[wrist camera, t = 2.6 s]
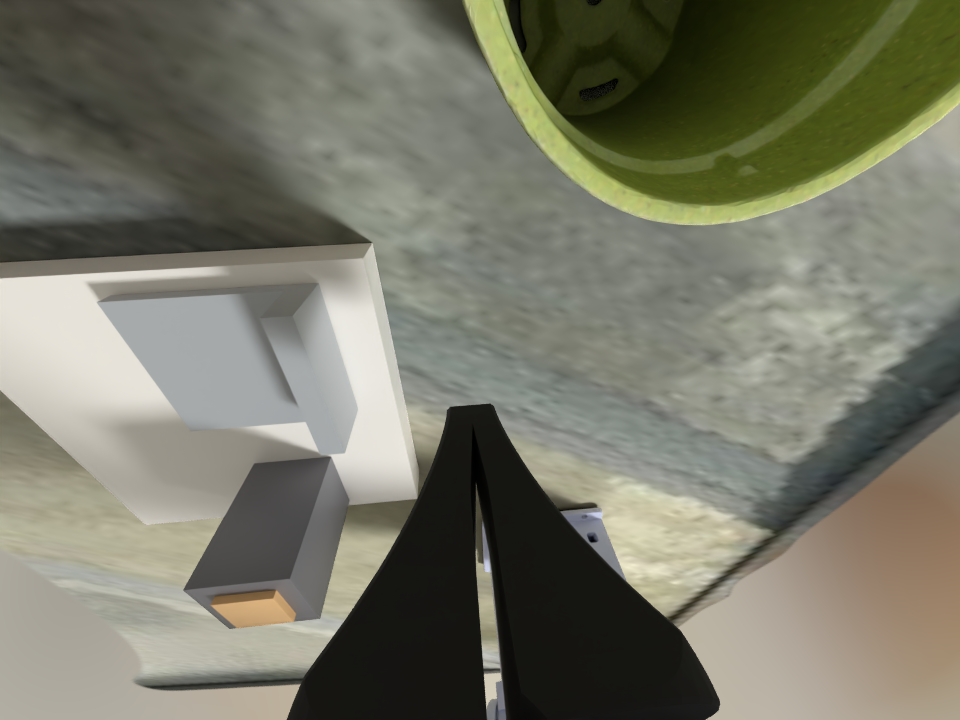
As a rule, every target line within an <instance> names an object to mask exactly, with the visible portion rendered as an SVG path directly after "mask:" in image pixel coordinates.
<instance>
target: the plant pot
mask: <svg viewBox="0 0 960 720" xmlns="http://www.w3.org/2000/svg"><path fill="white" fill-rule="evenodd" d="M462 3H463V6H464V8H465V11H466V14H467V16H468V19H469V22H470V24H471V27H472V30H473V32H474V35H475V38H476V40H477V43H478V45H479V47H480V49H481V52H482V54H483V56H484V58H485V60H486V62H487V64H488V67H489V69H490V71H491V73H492V75H493V77H494V79H495V82H496V84H497V86H498V88H499V90H500V91H501V93H502V95H503V97H504V98H505V100H506V102H507V103H508V105H509V107H510V108H511V110H512V112H513V113H514V115H515V116H516V118H517V120H518V121H519V123H520V124H521V126H522V127H523V129H524V130H525V132H526V133H527V135H528V136H529V137H530V138H531V140H532V141H533V142H534V143H535V144H536V146H537V147H538V148H539V149H540V150H541V151H542V153H543V154H544V155H545V156H546V157H547V158H548V159H549V161H550V162H551V163H553V164H554V165H555V166H556V167H557V168H558V169H559V170H560V171H561V172H562V173H563V174H564V175H565V176H566V177H567V178H569V179H570V180H572V181H573V182H574V183H576V184H577V185H578V186H580V187H581V188H583V189H584V190H585V191H587V192H588V193H589V194H591V195H592V196H594V197H596V198H598V199H600V200H601V201H603V202H605V203H607V204H609V205H611V206H613V207H615V208H617V209H619V210H621V211H624V212H627V213H629V214H632V215H634V216H637V217H641V218H644V219H648V220H652V221H658V222H665V223H671V224H679V225H714V224H720V223H730V222H737V221H743V220H746V219H750V218H754V217H758V216H761V215H765V214H769V213H772V212H776V211H779V210H782V209H785V208H788V207H790V206H793V205H796V204H799V203H802V202H805V201H807V200H810V199H812V198H814V197H816V196H818V195H820V194H823V193H825V192H827V191H829V190H831V189H833V188H835V187H837V186H839V185H841V184H843V183H845V182H847V181H848V180H850V179H851V178H853V177H855V176H857V175H858V174H860V173H862V172H864V171H865V170H867V169H869V168H870V167H872V166H874V165H875V164H877V163H878V162H880V161H882V160H883V159H885V158H887V157H888V156H890V155H891V154H893V153H894V152H896V151H897V150H899V149H900V148H901V147H903V146H904V145H905V144H907V143H908V142H909V141H911V140H913V139H914V138H916V137H918V136H919V135H920V134H922V133H923V132H924V131H926V130H927V129H928V128H930V127H931V126H933V125H934V124H935V123H937V122H938V121H939V120H941V119H942V118H943V117H944V116H945V115H946V114H948V113H949V112H950V111H951V110H952V109H953V108H955V107H956V106H957V105H958V104H959V103H960V0H664V1H663V0H601V2H600V3H599V4H598V5H595V6H593V5H589V4H588V2H587V0H520V10H521V23H522V30H523V35H524V37H525V40H526V44H527V47H526V51H525V52H524V53H522V52H520V50H519V47H518V45H517V42H516V40H515V37H514V34H513V32H512V25H511V20H510V12H509V8H510V0H462ZM616 78H617V80H618V83H617V84H616V87H615V89H614V90H613V91H611V92H610V93H608V94H606V95H604V96H601V97H599V98H596V99H594V100H588V101H584V99H581V98H580V95H579V92H580V91H581V90H585V89H588V88H592V87H597V86H600V85H602V84H605V83H608V82H609V81H611V80H613V79H616Z"/></svg>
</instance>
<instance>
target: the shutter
mask: <svg viewBox="0 0 960 720" xmlns="http://www.w3.org/2000/svg"><path fill="white" fill-rule="evenodd" d="M97 304H98V305H99V306H100V308H101V309H102V311H103V312H104V313H105V315H106V316H107V317H108V319H109V320H110V321H111V323H112V324H113V326H114V327H115V328H116V330H117V331H118V332H119V334H120V335H121V337H122V338H123V339H124V341H125V342H126V343H127V345H128V346H129V348H130V349H131V350H132V352H133V353H134V354H135V356H136V357H137V359H138V360H139V361H140V363H141V364H142V365H143V367H144V368H145V369H146V371H147V372H148V374H149V375H150V376H151V378H152V379H153V380H154V382H155V383H156V385H157V386H158V387H159V389H160V390H161V391H162V393H163V394H164V396H165V397H166V398H167V400H168V401H169V402H170V404H171V405H172V406H173V408H174V409H175V411H176V412H177V413H178V415H179V416H180V417H181V419H182V420H183V422H184V423H185V424H186V426H187V427H188V428H189V430H190V431H200V430H213V429H225V428H237V427H250V426H262V425H274V424H286V423H299V422H306V424H307V426H308V428H309V431H310V433H311V435H312V437H313V440H314V442H315V444H316V446H317V449H318V451H319V453H320V455H331V454H343V453H345V452H346V448H347V445H348V442H349V438H350V435H351V432H352V428H353V425H354V422H355V418H356V415H357V412H358V407H357V403H356V400H355V397H354V394H353V391H352V388H351V384H350V381H349V378H348V375H347V372H346V368H345V365H344V362H343V359H342V356H341V352H340V349H339V346H338V343H337V340H336V336H335V333H334V330H333V327H332V324H331V320H330V317H329V314H328V311H327V308H326V305H325V301H324V298H323V295H322V292H321V289H320V285H319V283H310V284H294V285H277V286H260V287H243V288H226V289H209V290H192V291H175V292H158V293H141V294H125V295H110V296H108V297H106V298H104V299H102V300H100V301H98V302H97Z"/></svg>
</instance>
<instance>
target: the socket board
mask: <svg viewBox="0 0 960 720" xmlns="http://www.w3.org/2000/svg"><path fill="white" fill-rule="evenodd" d="M310 283H319V285H320V289H321V292H322V295H323V298H324V301H325V305H326V308H327V311H328V314H329V317H330V320H331V324H332V327H333V330H334V333H335V336H336V340H337V343H338V346H339V349H340V352H341V356H342V359H343V362H344V365H345V368H346V372H347V375H348V378H349V381H350V384H351V388H352V391H353V394H354V397H355V400H356V403H357V407H358V412H357V415H356V418H355V422H354V425H353V428H352V432H351V435H350V438H349V442H348V445H347V448H346V452H345V453H343V454H331V455H320V453H319V451H318V449H317V446H316V444H315V442H314V440H313V437H312V435H311V433H310V431H309V428H308V426H307V424H306V422H299V423H286V424H274V425H262V426H250V427H237V428H225V429H213V430H200V431H190V430H189V428H188V427H187V426H186V424H185V423H184V422H183V420H182V419H181V417H180V416H179V415H178V413H177V412H176V411H175V409H174V408H173V406H172V405H171V404H170V402H169V401H168V400H167V398H166V397H165V396H164V394H163V393H162V391H161V390H160V389H159V387H158V386H157V385H156V383H155V382H154V380H153V379H152V378H151V376H150V375H149V374H148V372H147V371H146V369H145V368H144V367H143V365H142V364H141V363H140V361H139V360H138V359H137V357H136V356H135V354H134V353H133V352H132V350H131V349H130V348H129V346H128V345H127V343H126V342H125V341H124V339H123V338H122V337H121V335H120V334H119V332H118V331H117V330H116V328H115V327H114V326H113V324H112V323H111V321H110V320H109V319H108V317H107V316H106V315H105V313H104V312H103V311H102V309H101V308H100V306H99V305H98V304H97V302H98V301H100V300H102V299H104V298H106V297H108V296H110V295H125V294H141V293H158V292H175V291H192V290H209V289H226V288H243V287H260V286H277V285H294V284H310ZM0 390H1V391H2V392H3V393H4V394H5V395H6V396H7V397H8V398H9V399H10V400H11V401H12V402H13V403H15V404H16V405H17V406H18V407H19V408H20V409H21V410H22V411H23V412H24V413H25V414H26V415H27V416H29V417H30V418H31V419H32V420H33V421H34V422H35V423H36V424H37V425H38V426H39V427H40V428H41V429H43V430H44V431H45V432H46V433H47V434H48V435H49V436H50V437H51V438H52V439H53V440H54V441H55V442H57V443H58V444H59V445H60V446H61V447H62V448H63V449H64V450H65V451H66V452H67V453H68V454H69V455H71V456H72V457H73V458H74V459H75V460H76V461H77V462H78V463H79V464H80V465H81V466H82V467H83V468H85V469H86V470H87V471H88V472H89V473H90V474H91V475H92V476H93V477H94V478H95V479H96V480H97V481H99V482H100V483H101V484H102V485H103V486H104V487H105V488H106V489H107V490H108V491H109V492H110V493H111V494H113V495H114V496H115V497H116V498H117V499H118V500H119V501H120V502H121V503H122V504H123V505H124V506H125V507H127V508H128V509H129V510H130V511H131V512H132V513H133V514H134V515H135V516H136V517H137V518H138V519H140V520H141V521H142V522H143V523H144V524H145V525H150V524H160V523H171V522H181V521H192V520H202V519H213V518H223V517H224V516H225V515H226V513H227V511H228V509H229V507H230V506H231V504H232V502H233V500H234V499H235V497H236V495H237V493H238V491H239V490H240V488H241V486H242V484H243V482H244V481H245V479H246V477H247V475H248V474H249V472H250V470H251V468H252V466H253V465H254V463H264V462H276V461H287V460H299V459H310V458H321V457H332V460H333V462H334V464H335V467H336V469H337V472H338V474H339V476H340V479H341V481H342V483H343V486H344V488H345V491H346V493H347V495H348V498H349V500H350V501H349V505H359V504H369V503H380V502H390V501H401V500H411V499H417V498H418V483H419V468H418V463H417V458H416V453H415V448H414V444H413V439H412V434H411V429H410V424H409V419H408V414H407V409H406V404H405V400H404V395H403V390H402V385H401V380H400V375H399V370H398V365H397V360H396V356H395V351H394V346H393V341H392V336H391V331H390V326H389V321H388V316H387V311H386V307H385V302H384V297H383V292H382V287H381V282H380V277H379V272H378V267H377V263H376V258H375V253H374V248H373V243H361V244H342V245H324V246H305V247H286V248H267V249H248V250H229V251H211V252H192V253H173V254H154V255H135V256H116V257H98V258H79V259H60V260H41V261H22V262H4V263H0Z"/></svg>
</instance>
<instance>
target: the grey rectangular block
mask: <svg viewBox="0 0 960 720" xmlns="http://www.w3.org/2000/svg"><path fill="white" fill-rule="evenodd" d="M349 501H350V500H349V498H348V495H347V493H346V491H345V488H344V486H343V483H342V481H341V479H340V476H339V474H338V472H337V469H336V467H335V464H334V462H333V460H332V457H321V458H310V459H299V460H287V461H276V462H264V463H254V465H253V466H252V468H251V470H250V472H249V474H248V475H247V477H246V479H245V481H244V482H243V484H242V486H241V488H240V490H239V491H238V493H237V495H236V497H235V499H234V500H233V502H232V504H231V506H230V507H229V509H228V511H227V513H226V515H225V516H224V518H223V520H222V522H221V524H220V525H219V527H218V529H217V531H216V533H215V534H214V536H213V538H212V540H211V541H210V543H209V545H208V547H207V549H206V550H205V552H204V554H203V556H202V558H201V559H200V561H199V563H198V565H197V566H196V568H195V570H194V572H193V574H192V575H191V577H190V579H189V581H188V583H187V584H186V586H185V588H184V591H185V592H186V593H187V594H188V595H190V596H191V597H192V598H193V599H194V600H196V601H197V602H198V603H199V604H200V605H202V606H203V607H204V608H205V609H206V610H208V611H209V612H210V613H211V614H212V615H214V616H215V617H216V618H217V619H218V620H220V621H221V622H222V623H223V624H224V625H226V626H227V627H228V628H229V629H233V628H243V627H252V626H261V625H270V624H278V623H287V622H294V621H303V620H312V619H320V617H321V613H322V609H323V605H324V601H325V597H326V593H327V589H328V585H329V581H330V577H331V573H332V569H333V565H334V561H335V557H336V553H337V549H338V545H339V541H340V537H341V533H342V529H343V525H344V521H345V517H346V513H347V509H348V505H349Z"/></svg>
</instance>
